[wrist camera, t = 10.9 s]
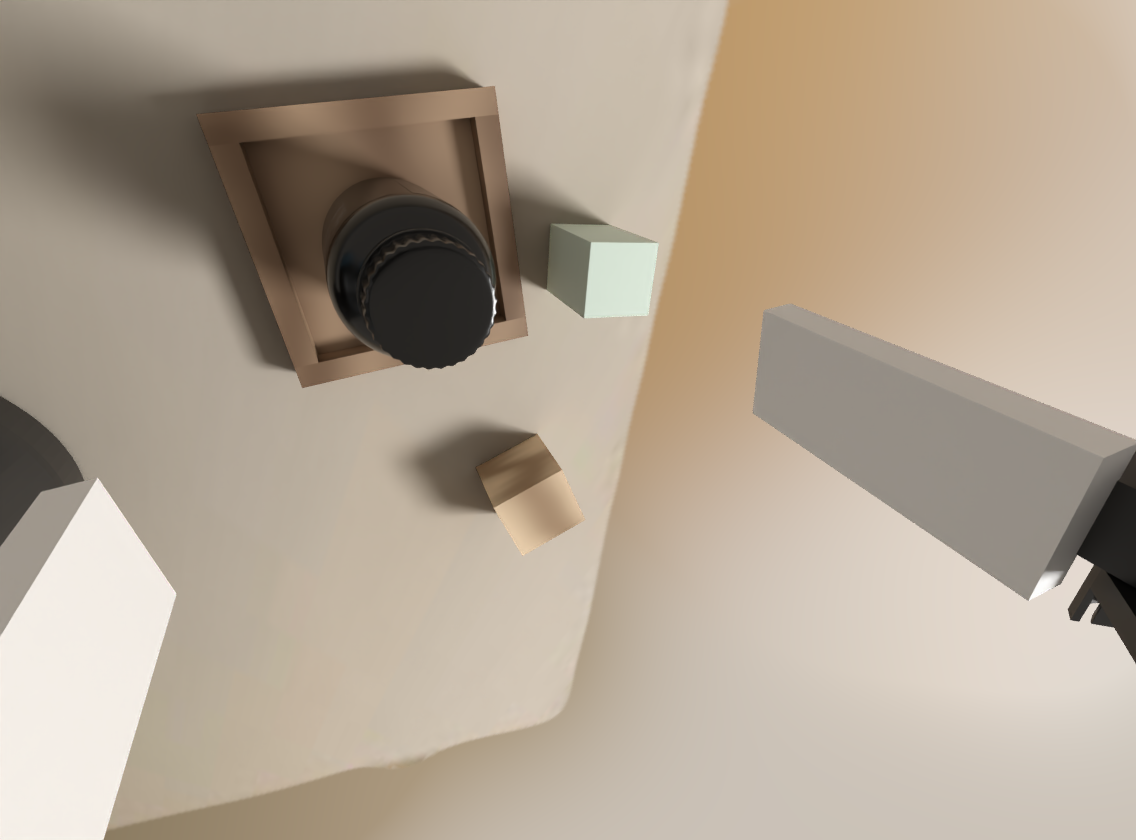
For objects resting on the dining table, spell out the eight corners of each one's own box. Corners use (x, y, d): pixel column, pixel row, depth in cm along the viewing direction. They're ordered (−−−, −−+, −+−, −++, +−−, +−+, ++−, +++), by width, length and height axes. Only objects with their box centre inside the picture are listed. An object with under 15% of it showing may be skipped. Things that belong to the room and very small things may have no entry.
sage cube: (546, 289, 34) (584, 318, 29) (550, 223, 32) (591, 242, 27) (603, 288, 36) (648, 315, 31) (610, 224, 34) (658, 242, 29)
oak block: (502, 512, 41) (522, 555, 37) (475, 466, 38) (493, 508, 34) (559, 480, 42) (585, 519, 38) (536, 433, 39) (562, 469, 35)
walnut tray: (303, 373, 31) (302, 388, 29) (204, 114, 24) (196, 114, 23) (518, 325, 34) (528, 335, 33) (484, 87, 28) (494, 86, 26)
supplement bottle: (384, 331, 31) (414, 429, 21) (290, 227, 27) (275, 290, 17) (480, 259, 31) (554, 324, 21) (402, 146, 27) (450, 161, 17)
